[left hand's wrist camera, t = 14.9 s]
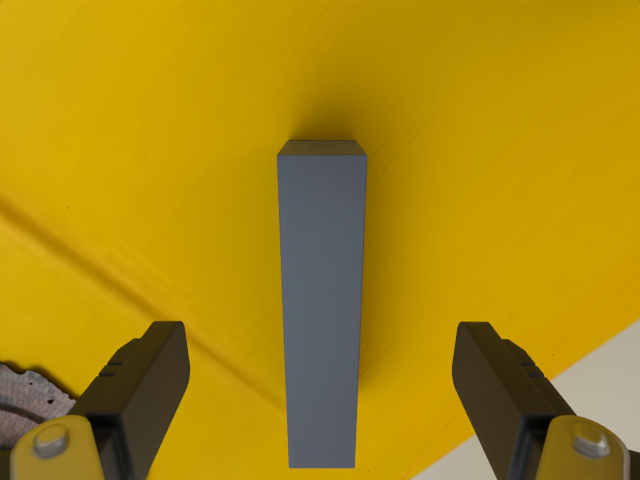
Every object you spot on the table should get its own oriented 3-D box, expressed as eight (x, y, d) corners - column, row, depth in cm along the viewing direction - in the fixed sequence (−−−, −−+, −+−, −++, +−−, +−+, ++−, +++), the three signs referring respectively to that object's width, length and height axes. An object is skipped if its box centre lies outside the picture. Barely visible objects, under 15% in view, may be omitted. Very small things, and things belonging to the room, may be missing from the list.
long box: (287, 140, 33) (276, 154, 25) (355, 140, 33) (367, 154, 25) (295, 395, 43) (288, 468, 34) (347, 395, 43) (354, 468, 34)
